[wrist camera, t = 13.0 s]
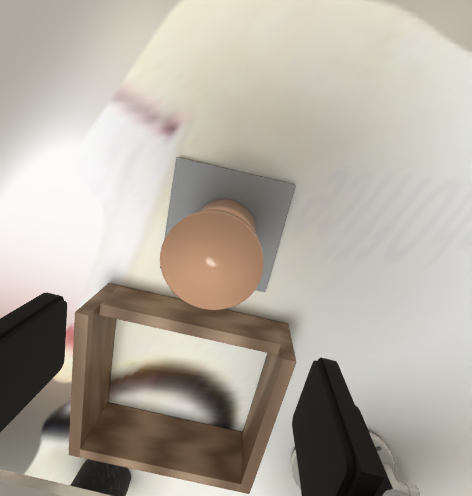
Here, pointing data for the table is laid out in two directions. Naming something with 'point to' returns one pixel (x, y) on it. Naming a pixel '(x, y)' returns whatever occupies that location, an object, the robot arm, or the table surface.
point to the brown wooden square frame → (162, 426)
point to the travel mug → (103, 478)
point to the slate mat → (238, 189)
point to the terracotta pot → (213, 256)
